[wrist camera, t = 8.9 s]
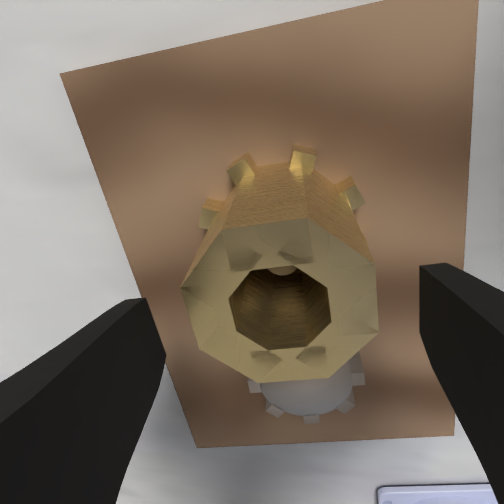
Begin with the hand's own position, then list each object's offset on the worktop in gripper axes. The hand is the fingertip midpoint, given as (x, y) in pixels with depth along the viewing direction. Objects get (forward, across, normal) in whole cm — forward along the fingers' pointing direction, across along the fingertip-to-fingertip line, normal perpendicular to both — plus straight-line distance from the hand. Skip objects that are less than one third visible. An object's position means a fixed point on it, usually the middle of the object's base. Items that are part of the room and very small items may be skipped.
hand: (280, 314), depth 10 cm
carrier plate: (+7, 0, +3) cm, 7 cm away
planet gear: (+6, 0, 0) cm, 6 cm away
